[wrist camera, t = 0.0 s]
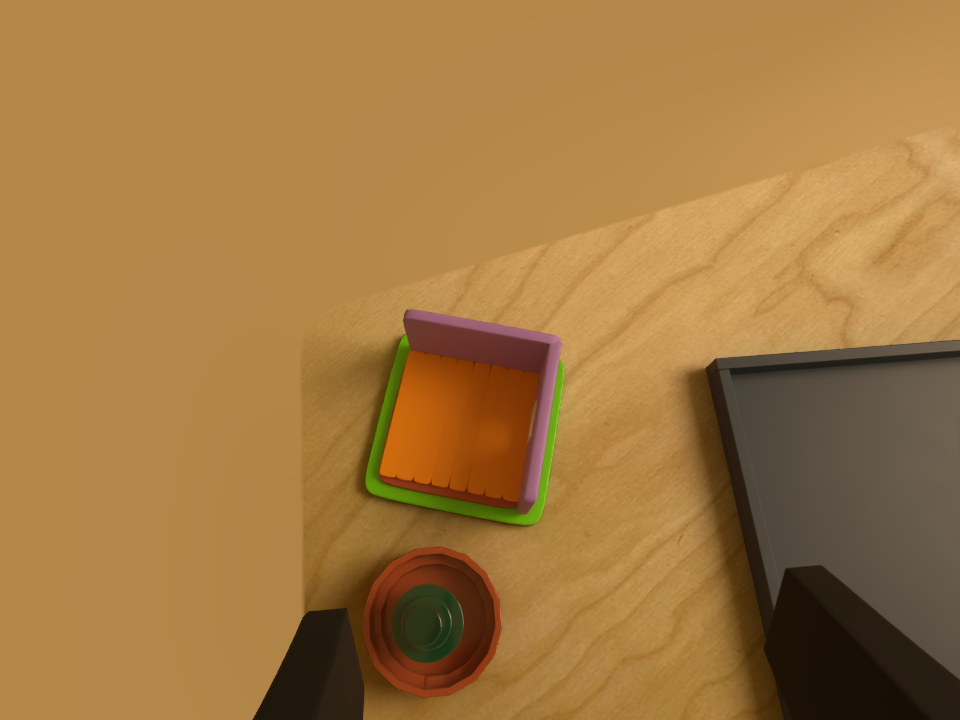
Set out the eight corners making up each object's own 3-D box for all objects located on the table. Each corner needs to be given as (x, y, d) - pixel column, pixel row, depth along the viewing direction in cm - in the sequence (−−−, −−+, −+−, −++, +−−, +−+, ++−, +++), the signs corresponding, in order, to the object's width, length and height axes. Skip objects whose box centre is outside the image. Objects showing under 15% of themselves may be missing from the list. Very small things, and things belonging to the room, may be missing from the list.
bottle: (467, 649, 38) (466, 666, 29) (404, 655, 37) (384, 674, 29) (462, 582, 39) (460, 580, 30) (401, 587, 39) (381, 587, 30)
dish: (505, 683, 37) (507, 689, 35) (371, 696, 37) (364, 703, 35) (493, 544, 40) (494, 541, 38) (368, 555, 40) (361, 553, 37)
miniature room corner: (566, 360, 44) (582, 321, 38) (540, 530, 40) (553, 519, 34) (402, 330, 45) (391, 287, 39) (360, 495, 41) (340, 477, 35)
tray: (1224, 743, 37) (1263, 751, 35) (799, 788, 36) (816, 799, 34) (1050, 340, 45) (1074, 330, 44) (705, 367, 44) (715, 358, 43)
